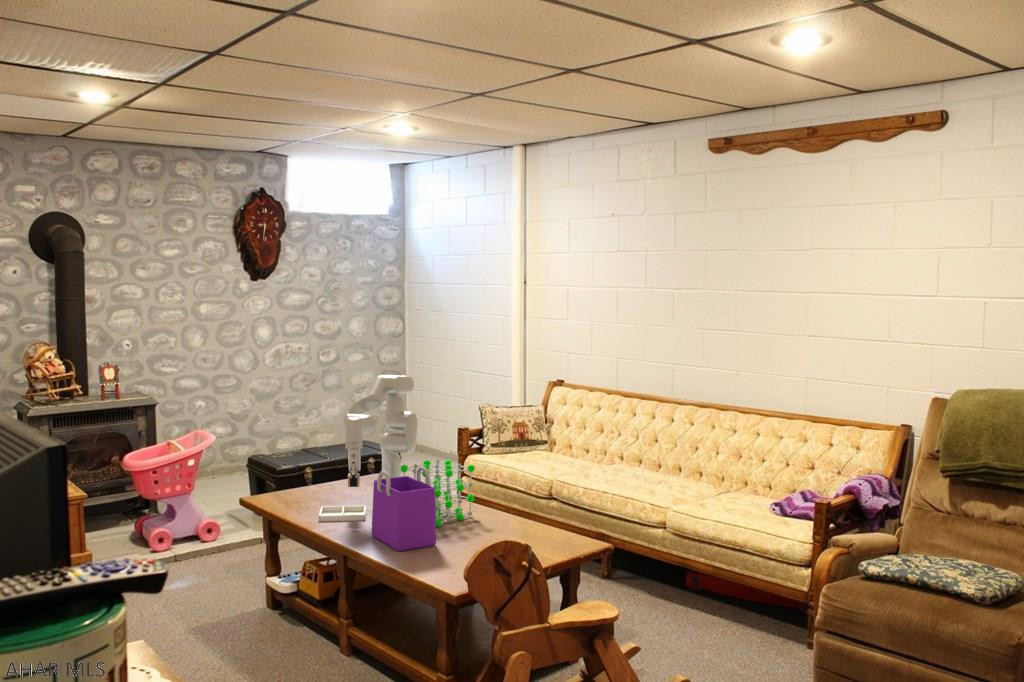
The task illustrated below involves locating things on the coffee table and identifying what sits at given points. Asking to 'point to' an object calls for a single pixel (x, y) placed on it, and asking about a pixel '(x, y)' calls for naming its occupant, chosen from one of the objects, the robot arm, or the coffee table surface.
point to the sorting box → (342, 513)
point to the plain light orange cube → (357, 480)
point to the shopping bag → (404, 511)
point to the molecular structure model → (448, 491)
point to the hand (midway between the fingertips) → (353, 484)
